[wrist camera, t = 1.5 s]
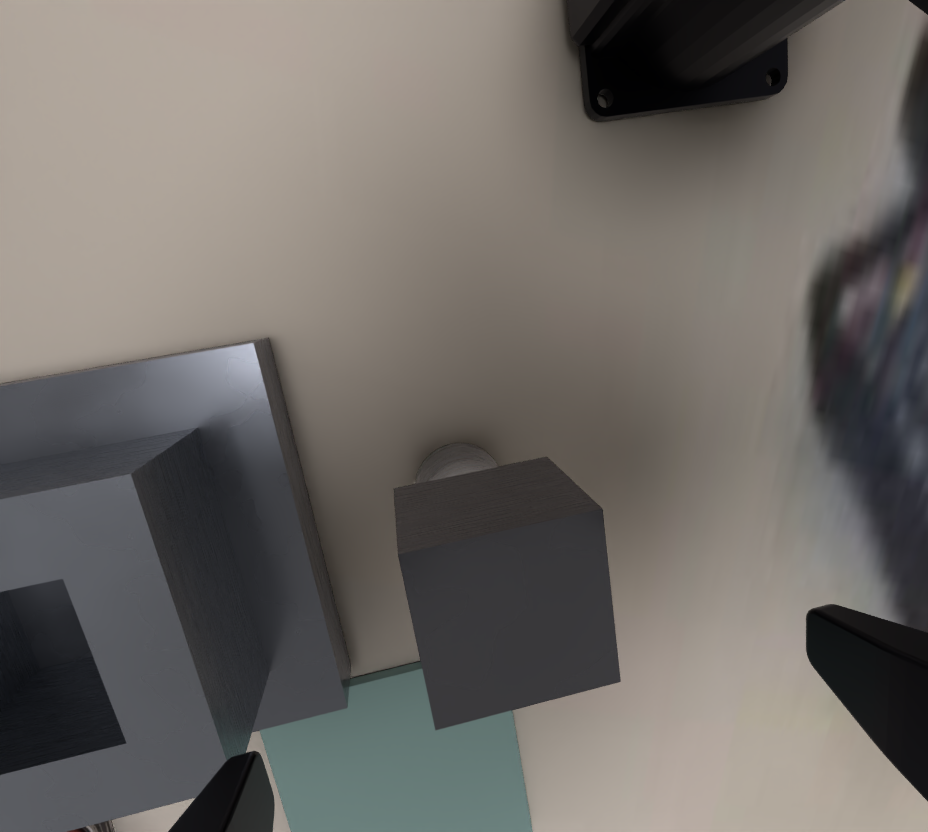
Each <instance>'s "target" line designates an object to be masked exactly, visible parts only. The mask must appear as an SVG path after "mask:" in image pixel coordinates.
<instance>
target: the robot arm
mask: <svg viewBox="0 0 928 832" xmlns="http://www.w3.org/2000/svg"><path fill="white" fill-rule="evenodd" d="M843 1H845V0H567V4H568V14H569V25H570V35H571V38H572V40H573V41H574V42H575V43H576V45H577V46H579V53H580V64H581V74H582V85H583V95H584V106H585V109H586V112H587V114H588V115H589V116H590V118H592V119H594V120H595V121H607V120H614V119H622V118H629V117H637V116H644V115H652V114H659V113H667V112H674V111H682V110H689V109H697V108H704V107H712V106H719V105H727V104H734V103H742V102H749V101H757V100H764V99H767V98H770V97H772V96H773V95H775V94H777V93H779V92H780V91H781V90H782V89H783V88H784V87H785V85H786V83H787V77H788V46H787V38H788V37H789V36H791V35H792V34H794V33H795V32H797V31H798V30H800V29H802V28H803V27H805V26H806V25H808V24H809V23H811V22H812V21H814V20H815V19H817V18H819V17H820V16H822V15H823V14H825V13H826V12H828V11H829V10H831V9H832V8H834V7H835V6H837V5H839V4H840V3H842V2H843ZM909 1H910V2H912V3H913V4H914V5H916V6H917V7H918V8H920V9H921V10H922V11H924V12H925V13H926V14H927V15H928V0H909ZM766 73H767V74H768V75H769V76H770V77H771V86H770V85H769V84H768V83H767V82H766ZM598 94H603V95H604V96H605V97H606V98H607V101H608V106H607V108H604V107H601V106H600V105H599V103H598V100H597V97H598ZM806 652H807V656H808V658H809V661H810V663H811V664H812V666H813V667H814V669H815V670H816V671H817V672H818V674H819V675H820V676H821V677H822V679H823V680H824V681H825V682H826V684H827V685H828V686H829V687H830V689H831V690H832V691H833V692H834V694H835V695H836V696H837V697H838V699H839V700H840V701H841V702H842V703H843V705H844V706H845V707H846V708H847V710H848V711H849V712H850V713H851V715H852V716H853V717H854V718H855V720H856V721H857V722H858V723H859V725H860V726H861V727H862V728H863V730H864V731H865V732H866V733H867V734H868V736H869V737H870V738H871V739H872V741H873V742H874V743H875V744H876V745H877V747H878V748H879V749H880V750H881V751H882V752H883V754H884V755H885V756H886V757H887V758H888V759H889V760H890V762H891V763H892V764H893V765H894V766H895V767H896V768H897V769H898V770H899V771H900V773H901V774H902V775H903V776H904V777H905V778H906V779H907V780H908V781H909V782H910V783H911V784H912V785H913V786H914V787H915V788H916V790H917V791H918V792H919V793H920V794H921V795H922V796H923V797H924V798H925V799H926V800H927V801H928V633H927V632H924V631H921V630H917V629H914V628H911V627H907V626H904V625H901V624H898V623H894V622H891V621H888V620H884V619H881V618H878V617H875V616H871V615H868V614H865V613H862V612H858V611H855V610H852V609H848V608H845V607H842V606H839V605H835V604H829V605H824V606H821V607H817V608H813V609H811V610H809V611H808V613H807V615H806ZM273 821H274V795H273V791H272V788H271V785H270V781H269V778H268V775H267V772H266V769H265V765H264V762H263V759H262V757H261V755H260V754H259V752H256V751H252V752H248V753H244V754H240V755H236V756H233V757H231V758H229V759H228V760H227V761H226V762H225V763H224V764H223V765H222V767H221V768H220V769H219V770H218V771H217V773H216V774H215V775H214V776H213V778H212V779H211V780H210V781H209V782H208V784H207V785H206V786H205V787H204V789H203V790H202V791H201V792H200V794H199V795H198V796H197V797H196V798H195V800H194V801H193V802H192V803H191V805H190V806H189V807H188V808H187V809H186V811H185V812H184V813H183V814H182V816H181V817H180V818H179V819H178V820H177V822H176V823H175V824H174V825H173V827H172V828H171V829H170V830H169V831H168V832H273Z"/></svg>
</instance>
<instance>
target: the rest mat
mask: <svg viewBox="0 0 928 832" xmlns="http://www.w3.org/2000/svg"><path fill="white" fill-rule="evenodd" d="M260 733H261V737H262V740H263V743H264V746H265V750H266V753H267V756H268V759H269V762H270V766H271V769H272V772H273V775H274V779H275V782H276V785H277V788H278V791H279V795H280V798H281V801H282V804H283V807H284V811H285V814H286V817H287V820H288V824H289V827H290V830H291V832H532V826H531V820H530V814H529V808H528V802H527V796H526V790H525V784H524V778H523V772H522V766H521V760H520V754H519V748H518V742H517V736H516V730H515V724H514V718H513V712H512V710H511V711H508V712H504V713H500V714H496V715H492V716H489V717H485V718H481V719H477V720H473V721H470V722H466V723H462V724H458V725H455V726H451V727H447V728H443V729H439V730H436V731H435V726H434V722H433V717H432V712H431V708H430V703H429V698H428V693H427V689H426V684H425V679H424V675H423V670H422V665H421V662H417V663H412V664H408V665H404V666H400V667H396V668H392V669H388V670H384V671H380V672H376V673H372V674H368V675H364V676H360V677H356V678H352V679H350V685H349V697H348V708H346V709H342V710H338V711H334V712H330V713H326V714H322V715H318V716H314V717H311V718H307V719H303V720H299V721H295V722H291V723H287V724H283V725H279V726H275V727H271V728H267V729H263V730H260Z"/></svg>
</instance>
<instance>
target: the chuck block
mask: <svg viewBox="0 0 928 832" xmlns="http://www.w3.org/2000/svg"><path fill="white" fill-rule="evenodd" d="M350 673H351V664H350V660H349V656H348V652H347V648H346V644H345V640H344V636H343V632H342V628H341V624H340V620H339V616H338V612H337V608H336V604H335V600H334V596H333V592H332V588H331V584H330V580H329V576H328V572H327V568H326V564H325V561H324V557H323V553H322V549H321V545H320V541H319V537H318V533H317V529H316V525H315V521H314V517H313V513H312V509H311V505H310V501H309V497H308V493H307V489H306V485H305V481H304V477H303V473H302V469H301V465H300V461H299V457H298V453H297V449H296V445H295V441H294V437H293V433H292V429H291V425H290V421H289V417H288V413H287V409H286V405H285V401H284V397H283V393H282V389H281V385H280V381H279V377H278V373H277V369H276V365H275V361H274V357H273V353H272V349H271V345H270V341H269V338H265V339H259V340H253V341H248V342H242V343H236V344H230V345H224V346H218V347H212V348H206V349H201V350H195V351H189V352H183V353H177V354H171V355H165V356H160V357H154V358H148V359H142V360H136V361H130V362H124V363H118V364H113V365H107V366H101V367H95V368H89V369H83V370H77V371H72V372H66V373H60V374H54V375H48V376H42V377H36V378H30V379H25V380H19V381H13V382H7V383H1V384H0V832H67V831H71V830H75V829H79V828H82V827H86V826H90V825H94V824H98V823H101V822H105V821H109V820H113V819H116V818H120V817H124V816H128V815H132V814H135V813H139V812H143V811H147V810H150V809H154V808H158V807H162V806H166V805H169V804H173V803H177V802H181V801H184V800H188V799H192V798H196V797H197V796H198V795H199V794H200V792H201V791H202V790H203V789H204V787H205V786H206V785H207V784H208V782H209V781H210V780H211V779H212V778H213V776H214V775H215V774H216V773H217V771H218V770H219V769H220V768H221V767H222V765H223V764H224V763H225V762H226V761H227V760H228V759H229V758H231V757H233V756H236V755H240V754H244V753H246V750H247V746H248V743H249V740H250V736H251V733H252V732H255V731H259V730H263V729H267V728H271V727H275V726H279V725H283V724H287V723H291V722H295V721H299V720H303V719H307V718H311V717H314V716H318V715H322V714H326V713H330V712H334V711H338V710H342V709H346V708H348V697H349V685H350Z"/></svg>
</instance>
